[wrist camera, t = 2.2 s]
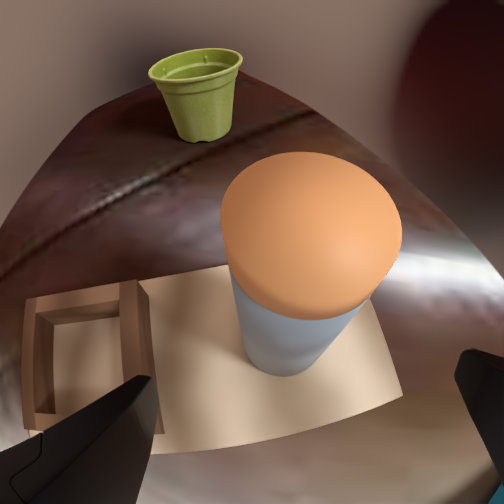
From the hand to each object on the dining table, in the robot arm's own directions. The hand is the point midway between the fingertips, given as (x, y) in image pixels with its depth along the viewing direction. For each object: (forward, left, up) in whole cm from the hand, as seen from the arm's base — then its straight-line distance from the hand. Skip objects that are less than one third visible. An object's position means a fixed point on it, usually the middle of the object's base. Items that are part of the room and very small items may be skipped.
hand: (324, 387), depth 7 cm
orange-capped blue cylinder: (+4, +2, -10) cm, 11 cm away
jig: (0, +7, -11) cm, 13 cm away
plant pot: (+23, +18, -11) cm, 31 cm away
